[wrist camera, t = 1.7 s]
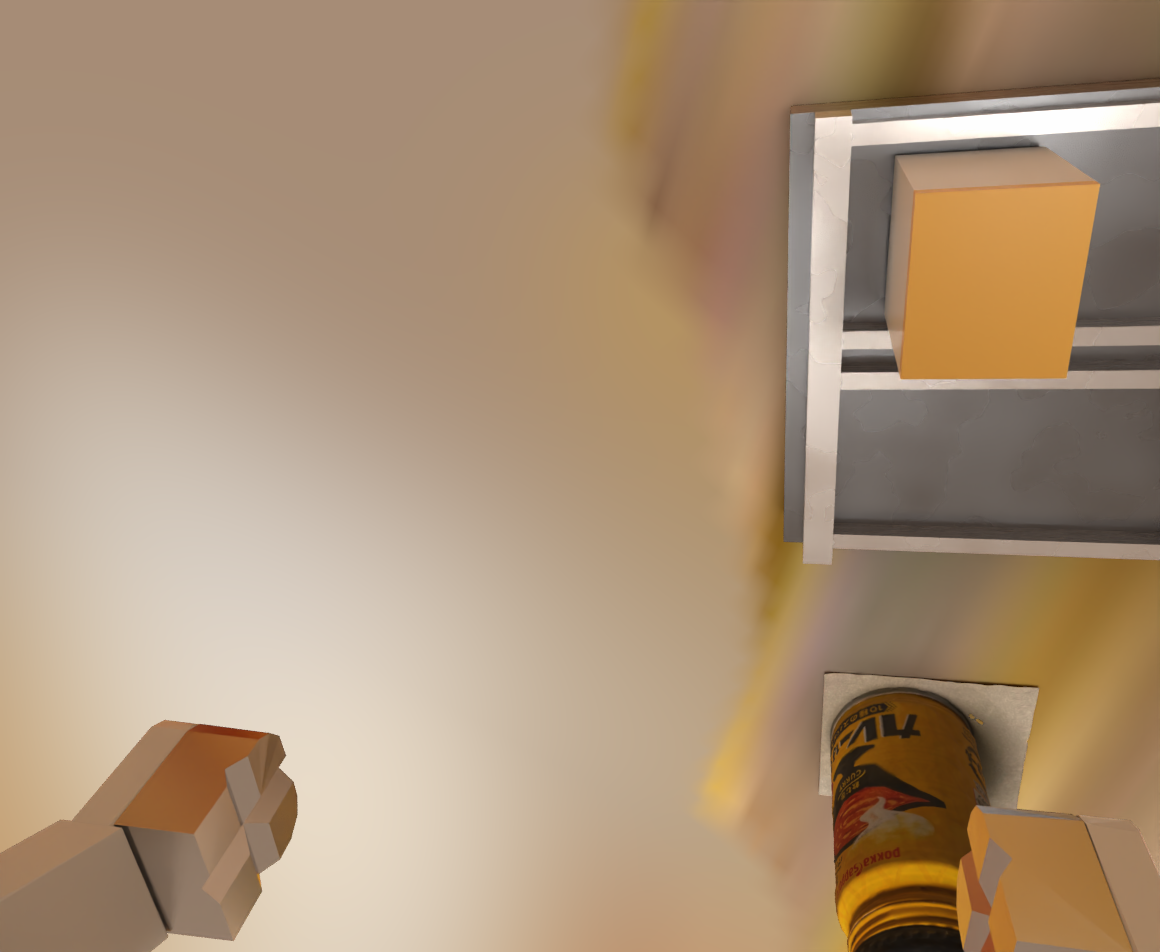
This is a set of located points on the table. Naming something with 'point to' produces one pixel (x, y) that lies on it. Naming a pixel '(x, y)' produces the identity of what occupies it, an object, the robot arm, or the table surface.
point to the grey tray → (972, 406)
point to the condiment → (913, 797)
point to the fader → (987, 263)
